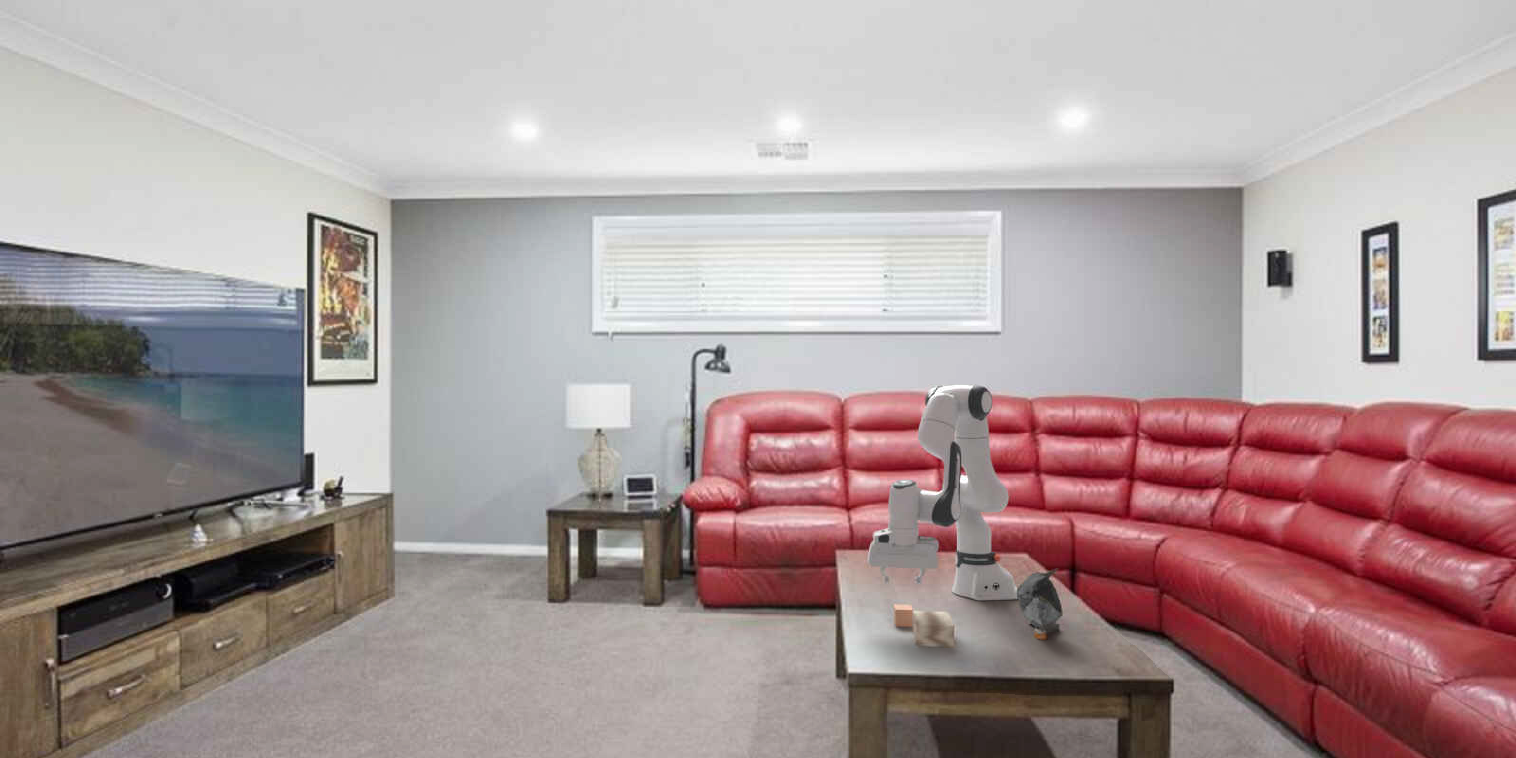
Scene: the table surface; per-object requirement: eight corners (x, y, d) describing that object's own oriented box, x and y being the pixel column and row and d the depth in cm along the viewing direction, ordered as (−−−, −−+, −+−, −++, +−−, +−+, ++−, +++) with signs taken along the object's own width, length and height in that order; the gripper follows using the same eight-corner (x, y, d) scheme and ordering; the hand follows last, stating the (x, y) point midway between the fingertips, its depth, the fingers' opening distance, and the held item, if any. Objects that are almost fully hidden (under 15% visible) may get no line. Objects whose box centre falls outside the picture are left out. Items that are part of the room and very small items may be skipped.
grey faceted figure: (1003, 633, 218) (1003, 570, 217) (1033, 622, 227) (1033, 562, 227) (1048, 647, 206) (1048, 581, 206) (1078, 635, 216) (1079, 572, 215)
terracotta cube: (910, 621, 228) (910, 604, 228) (912, 627, 223) (912, 610, 223) (893, 621, 229) (893, 604, 229) (895, 626, 224) (895, 609, 224)
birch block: (948, 632, 219) (948, 612, 219) (954, 648, 207) (954, 626, 207) (912, 631, 220) (912, 610, 220) (916, 646, 208) (916, 624, 208)
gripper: (937, 534, 228) (936, 581, 228) (868, 532, 230) (867, 578, 230) (940, 539, 221) (939, 586, 221) (869, 536, 223) (868, 583, 223)
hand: (902, 582), depth 226 cm, fingers open, 8 cm apart
